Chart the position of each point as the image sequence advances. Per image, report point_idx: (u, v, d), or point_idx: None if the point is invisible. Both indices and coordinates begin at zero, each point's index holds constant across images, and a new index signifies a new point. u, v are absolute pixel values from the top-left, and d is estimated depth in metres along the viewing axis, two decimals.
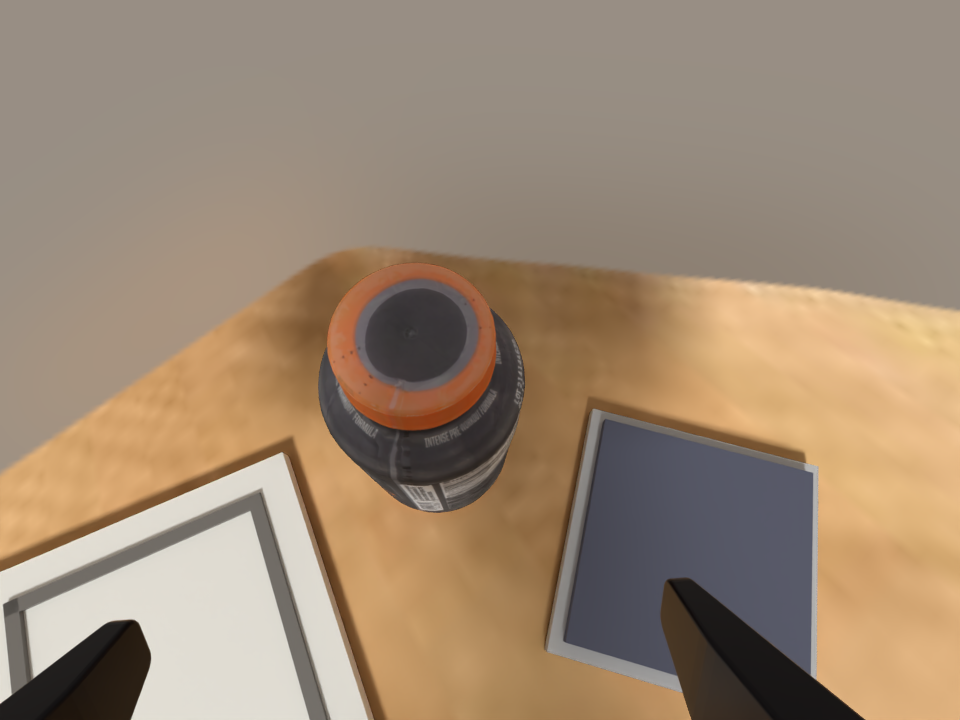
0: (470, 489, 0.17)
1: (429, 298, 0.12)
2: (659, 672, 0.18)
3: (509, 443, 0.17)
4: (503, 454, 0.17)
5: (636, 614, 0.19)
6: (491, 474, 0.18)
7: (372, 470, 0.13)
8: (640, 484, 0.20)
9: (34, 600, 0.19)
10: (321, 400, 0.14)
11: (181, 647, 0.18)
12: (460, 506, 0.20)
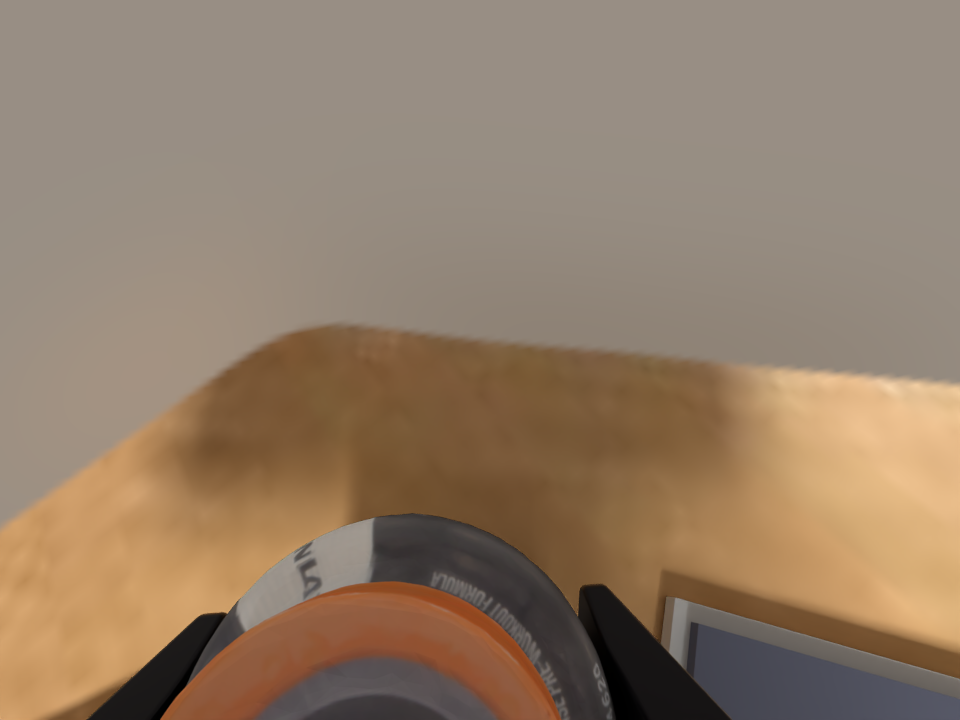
0: None
1: None
2: None
3: None
4: None
5: None
6: None
7: None
8: None
9: None
10: None
11: None
12: None
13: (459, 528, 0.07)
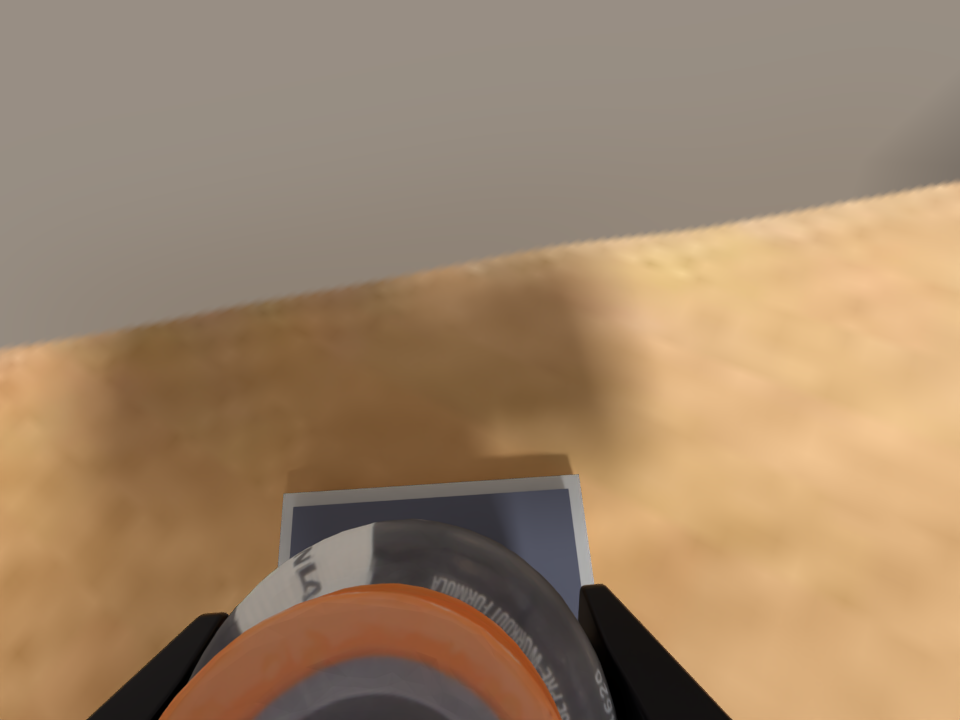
0: None
1: None
2: None
3: None
4: None
5: None
6: None
7: None
8: None
9: None
10: None
11: None
12: None
13: (459, 532, 0.07)
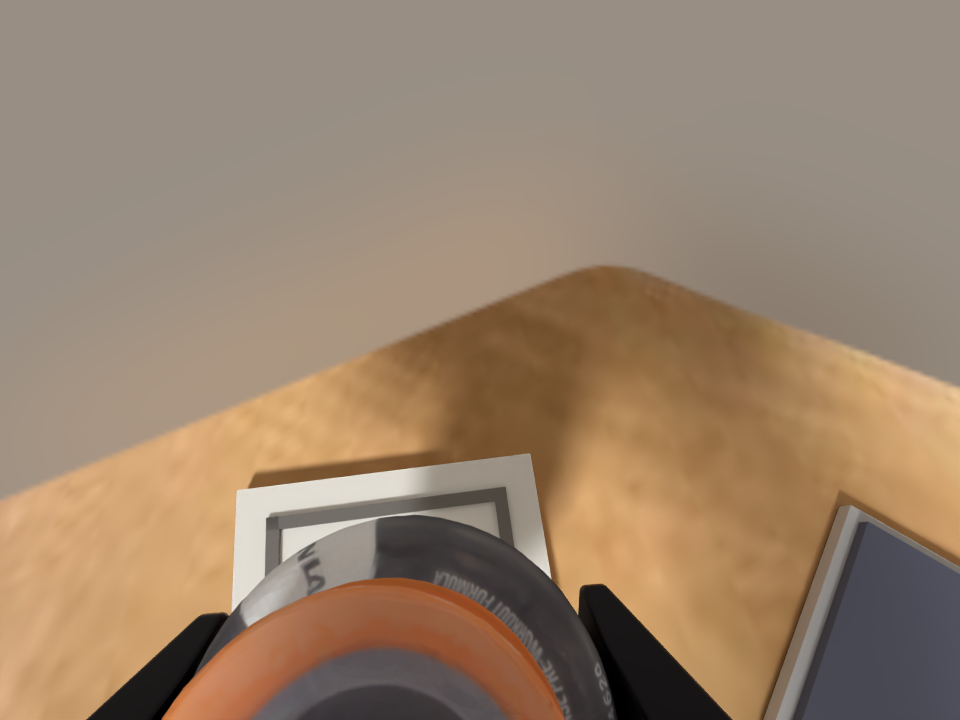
0: None
1: None
2: None
3: None
4: None
5: None
6: None
7: None
8: (897, 603, 0.19)
9: (292, 523, 0.20)
10: None
11: None
12: None
13: (462, 529, 0.07)
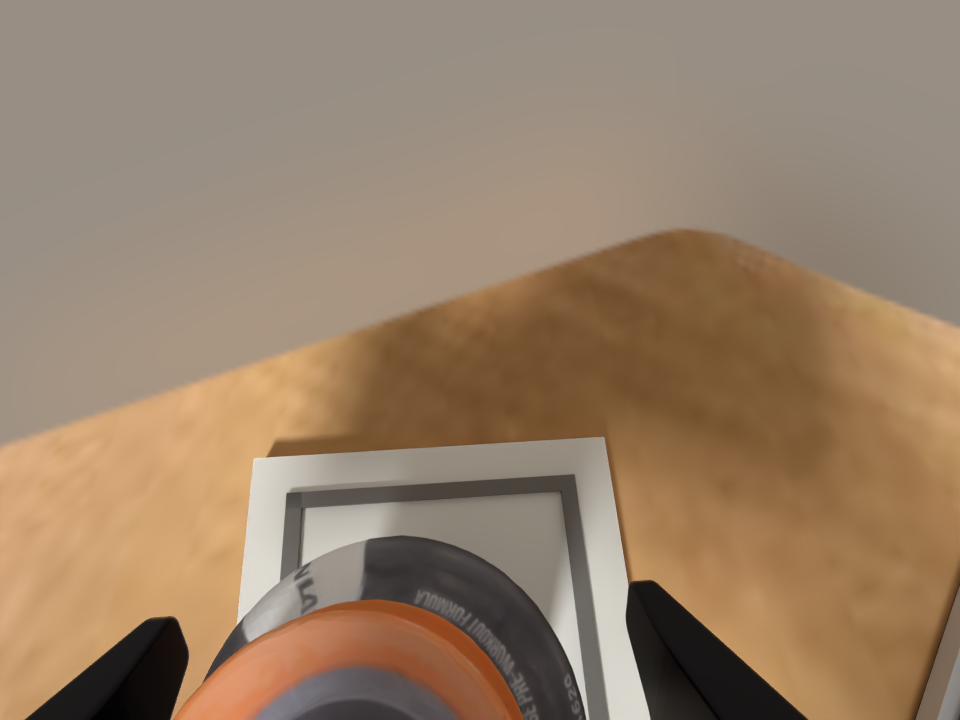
0: None
1: None
2: None
3: None
4: None
5: None
6: None
7: None
8: None
9: (317, 501, 0.17)
10: None
11: None
12: None
13: (444, 549, 0.08)
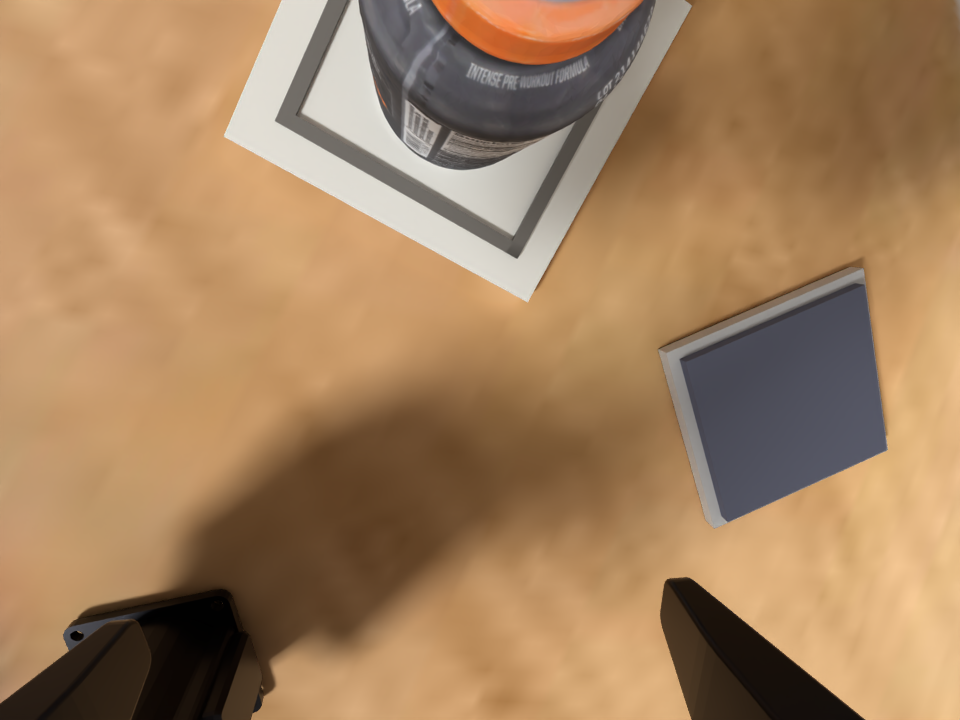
0: (471, 158, 0.14)
1: None
2: (696, 429, 0.23)
3: None
4: None
5: (730, 395, 0.22)
6: (501, 157, 0.15)
7: (384, 58, 0.10)
8: (823, 343, 0.22)
9: None
10: None
11: None
12: (445, 166, 0.17)
13: None
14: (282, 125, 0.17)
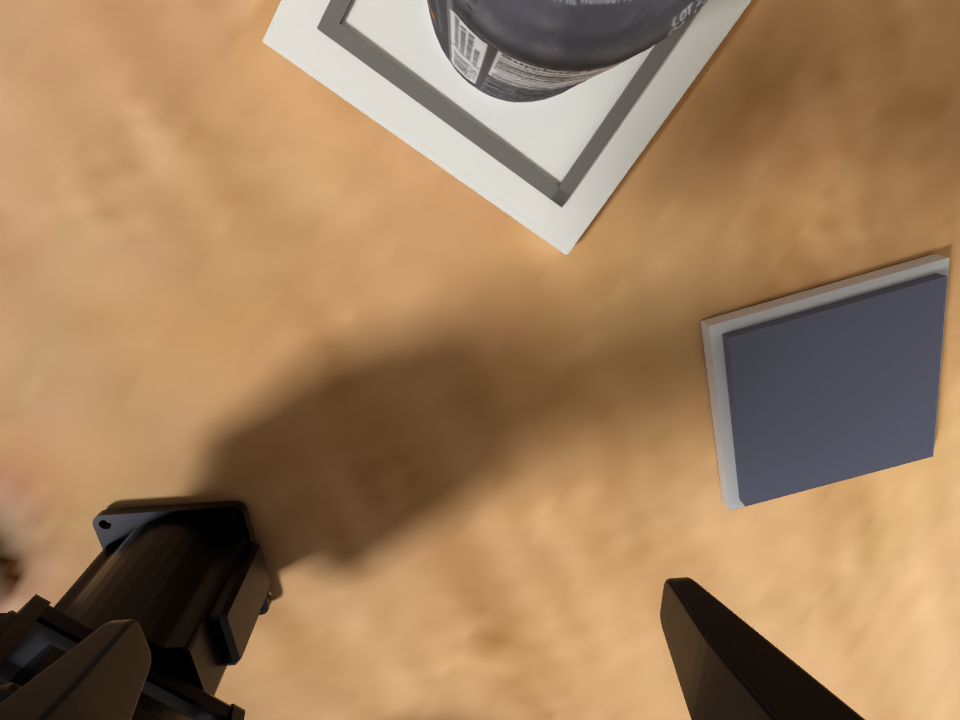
0: (521, 87, 0.13)
1: None
2: (727, 409, 0.22)
3: None
4: (588, 78, 0.12)
5: (771, 378, 0.21)
6: (555, 89, 0.13)
7: None
8: (885, 335, 0.20)
9: None
10: None
11: None
12: (494, 95, 0.16)
13: None
14: (324, 34, 0.16)
